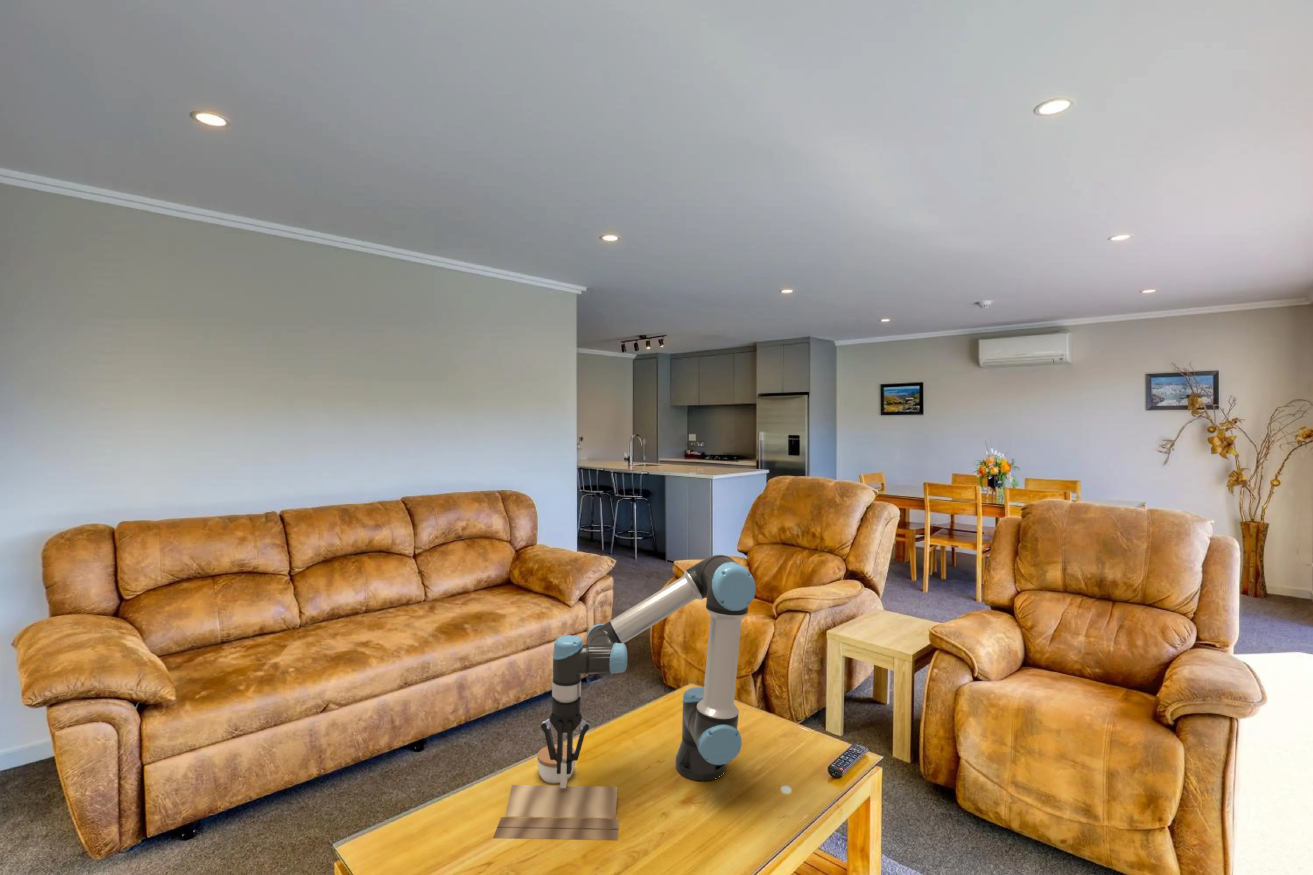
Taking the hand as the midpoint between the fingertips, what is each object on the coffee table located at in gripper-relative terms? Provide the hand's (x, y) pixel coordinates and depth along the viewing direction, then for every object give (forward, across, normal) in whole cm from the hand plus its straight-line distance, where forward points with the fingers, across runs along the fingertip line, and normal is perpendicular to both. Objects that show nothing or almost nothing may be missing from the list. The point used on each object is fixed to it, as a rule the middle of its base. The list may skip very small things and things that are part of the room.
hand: (563, 784), depth 162 cm
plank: (+4, 0, +2) cm, 4 cm away
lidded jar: (+6, +4, -12) cm, 14 cm away
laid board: (+6, 0, +11) cm, 12 cm away
